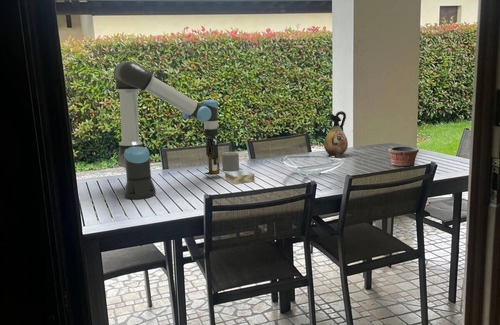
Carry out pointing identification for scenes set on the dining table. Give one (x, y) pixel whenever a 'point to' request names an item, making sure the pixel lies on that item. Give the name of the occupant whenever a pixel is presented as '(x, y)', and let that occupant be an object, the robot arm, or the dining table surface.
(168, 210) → the dining table surface
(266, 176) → the dining table surface
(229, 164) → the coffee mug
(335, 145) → the ceramic jug
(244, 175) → the plinth
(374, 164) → the dining table surface
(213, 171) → the condiment
